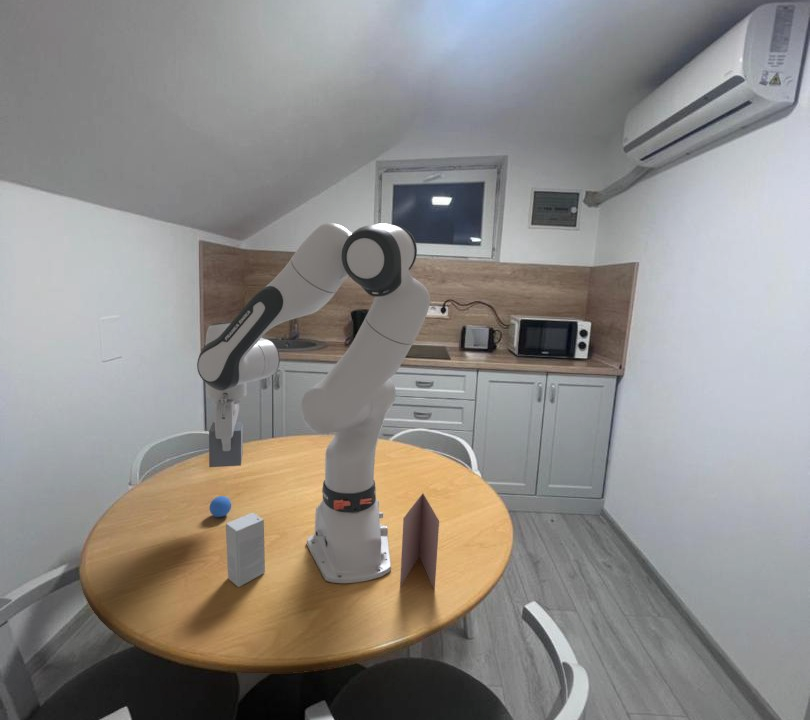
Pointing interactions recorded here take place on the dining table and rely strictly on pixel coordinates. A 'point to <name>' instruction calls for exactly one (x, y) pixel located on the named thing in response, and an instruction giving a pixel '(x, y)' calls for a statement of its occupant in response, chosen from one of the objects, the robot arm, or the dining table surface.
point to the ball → (220, 506)
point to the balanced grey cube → (226, 457)
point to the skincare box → (245, 548)
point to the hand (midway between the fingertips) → (228, 443)
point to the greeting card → (420, 539)
